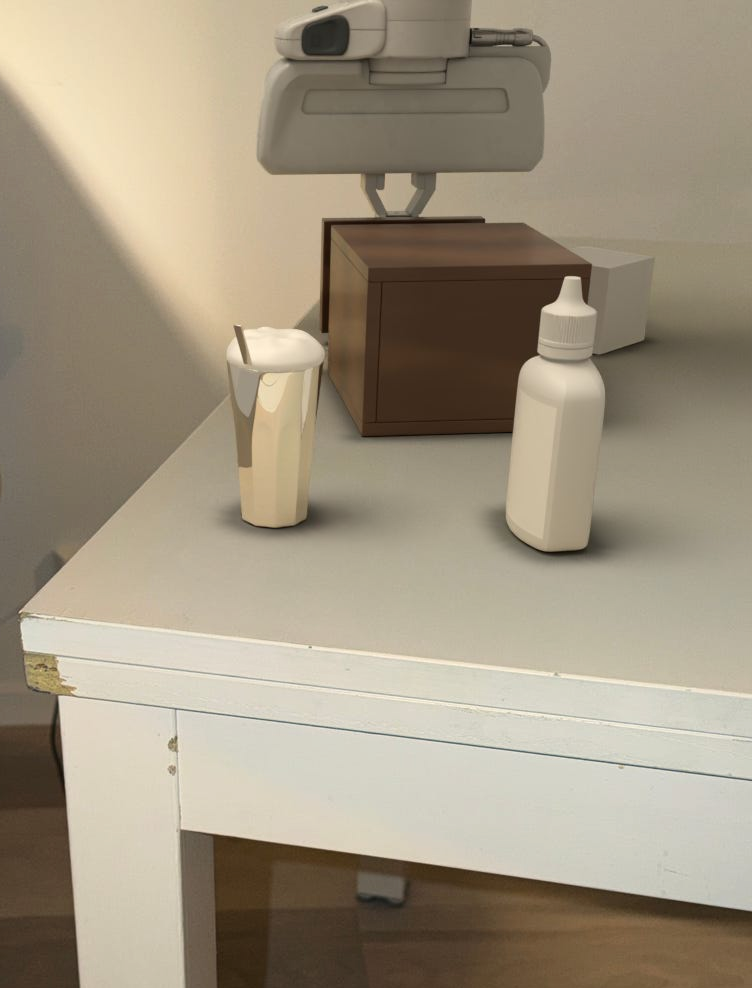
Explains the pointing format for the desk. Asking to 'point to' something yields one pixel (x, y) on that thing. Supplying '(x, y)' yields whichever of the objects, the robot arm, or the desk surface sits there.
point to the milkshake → (274, 420)
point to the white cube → (618, 295)
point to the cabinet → (439, 321)
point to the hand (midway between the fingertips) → (395, 238)
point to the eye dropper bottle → (557, 429)
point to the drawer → (365, 221)
